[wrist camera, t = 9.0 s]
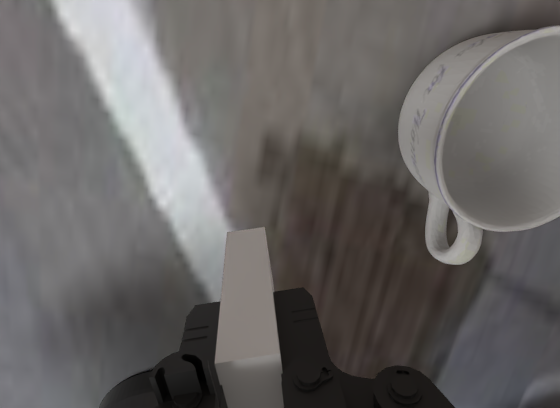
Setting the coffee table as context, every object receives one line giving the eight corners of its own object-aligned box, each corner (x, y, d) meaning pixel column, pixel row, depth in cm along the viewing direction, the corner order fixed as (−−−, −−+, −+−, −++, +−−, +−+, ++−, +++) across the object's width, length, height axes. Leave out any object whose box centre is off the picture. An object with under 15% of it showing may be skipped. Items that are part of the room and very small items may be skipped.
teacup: (448, -4, 23) (542, -27, 15) (565, 83, 25) (693, 98, 18) (331, 182, 27) (360, 233, 20) (441, 239, 30) (503, 302, 22)
